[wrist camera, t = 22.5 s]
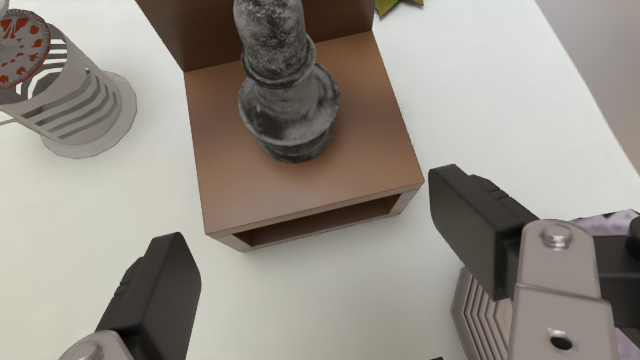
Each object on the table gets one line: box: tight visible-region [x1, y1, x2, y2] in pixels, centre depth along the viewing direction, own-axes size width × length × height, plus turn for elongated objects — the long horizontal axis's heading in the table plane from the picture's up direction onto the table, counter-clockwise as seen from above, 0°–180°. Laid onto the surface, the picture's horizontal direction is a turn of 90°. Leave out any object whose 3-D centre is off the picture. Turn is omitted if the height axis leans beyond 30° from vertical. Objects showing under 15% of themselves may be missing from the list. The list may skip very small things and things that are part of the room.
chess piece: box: [233, 0, 340, 163], centre depth 18 cm, size 6×6×12 cm
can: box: [450, 209, 640, 360], centre depth 22 cm, size 11×11×12 cm
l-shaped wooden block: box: [135, 0, 425, 252], centre depth 24 cm, size 13×14×18 cm
